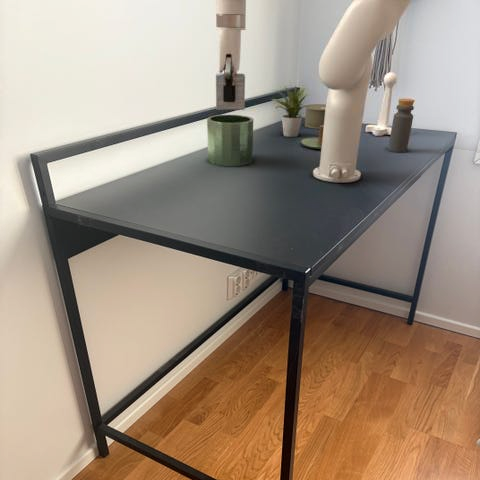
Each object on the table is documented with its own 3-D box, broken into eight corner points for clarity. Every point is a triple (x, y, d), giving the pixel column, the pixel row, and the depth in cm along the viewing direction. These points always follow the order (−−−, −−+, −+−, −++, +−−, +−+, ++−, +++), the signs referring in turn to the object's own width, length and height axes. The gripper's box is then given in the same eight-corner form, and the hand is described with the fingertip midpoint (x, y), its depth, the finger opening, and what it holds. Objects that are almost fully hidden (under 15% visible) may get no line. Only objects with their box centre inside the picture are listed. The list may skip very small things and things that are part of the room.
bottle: (404, 148, 159) (414, 98, 151) (408, 152, 154) (418, 101, 146) (386, 147, 160) (395, 97, 152) (389, 152, 155) (398, 100, 147)
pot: (259, 158, 145) (261, 117, 139) (237, 168, 136) (238, 125, 130) (223, 152, 151) (223, 113, 145) (199, 162, 142) (198, 119, 135)
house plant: (284, 128, 182) (287, 80, 174) (317, 133, 176) (322, 83, 167) (264, 135, 172) (266, 84, 164) (298, 140, 166) (302, 88, 157)
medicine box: (244, 107, 138) (244, 73, 133) (244, 110, 134) (245, 75, 129) (216, 107, 138) (215, 72, 133) (215, 110, 134) (215, 74, 129)
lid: (349, 144, 162) (351, 124, 159) (333, 153, 152) (336, 132, 149) (311, 139, 168) (312, 120, 165) (293, 147, 158) (295, 127, 155)
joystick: (398, 134, 176) (409, 73, 166) (390, 138, 171) (402, 75, 160) (369, 130, 182) (378, 70, 171) (361, 134, 176) (370, 72, 166)
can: (322, 122, 194) (324, 103, 190) (342, 127, 185) (344, 108, 181) (297, 124, 189) (299, 105, 185) (316, 130, 180) (318, 110, 176)
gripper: (220, 21, 132) (220, 95, 142) (211, 23, 118) (212, 105, 128) (247, 22, 132) (246, 95, 142) (242, 24, 117) (241, 105, 127)
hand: (230, 99), depth 135 cm, fingers closed on medicine box, 4 cm apart
